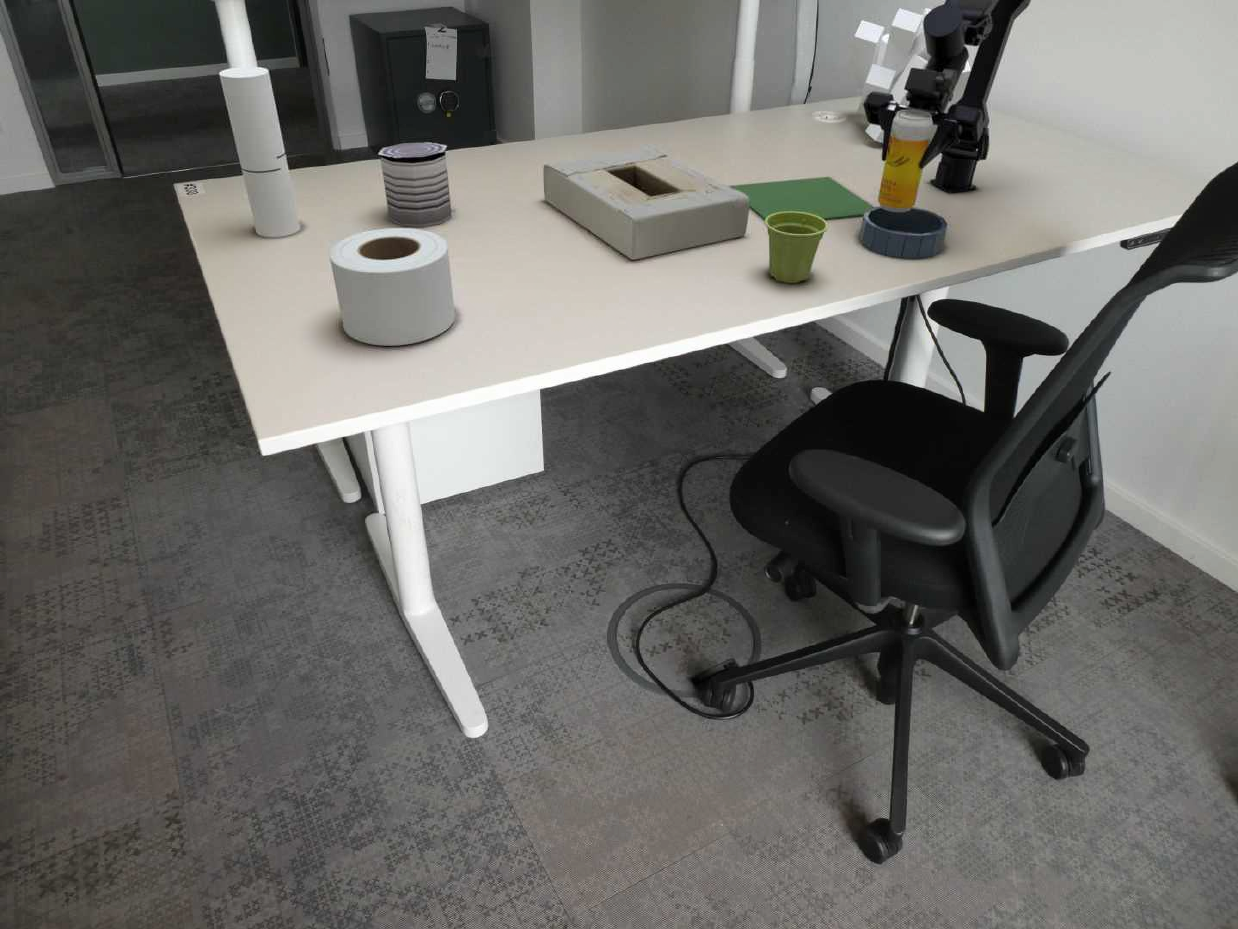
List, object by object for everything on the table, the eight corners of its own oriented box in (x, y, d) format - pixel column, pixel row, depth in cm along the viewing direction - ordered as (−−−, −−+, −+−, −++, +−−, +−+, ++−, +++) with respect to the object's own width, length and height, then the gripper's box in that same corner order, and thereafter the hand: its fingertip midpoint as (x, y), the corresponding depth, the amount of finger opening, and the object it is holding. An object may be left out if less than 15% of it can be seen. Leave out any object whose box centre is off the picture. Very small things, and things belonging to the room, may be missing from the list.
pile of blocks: (798, 138, 216) (803, 9, 185) (889, 76, 220) (910, -60, 190) (901, 217, 200) (925, 91, 169) (997, 149, 205) (1037, 14, 174)
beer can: (872, 199, 150) (890, 108, 141) (908, 200, 150) (927, 108, 141) (882, 213, 145) (900, 119, 136) (918, 213, 145) (939, 119, 136)
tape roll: (344, 300, 128) (330, 229, 122) (450, 292, 131) (443, 222, 125) (341, 352, 116) (327, 276, 110) (459, 341, 119) (451, 266, 113)
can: (386, 228, 150) (375, 157, 143) (389, 205, 159) (380, 137, 152) (453, 226, 152) (446, 155, 145) (453, 202, 161) (446, 135, 154)
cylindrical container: (308, 224, 151) (278, 69, 136) (283, 239, 146) (248, 79, 131) (273, 219, 153) (239, 64, 138) (247, 233, 148) (208, 74, 133)
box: (748, 236, 151) (647, 180, 173) (753, 192, 146) (648, 140, 168) (634, 265, 141) (542, 202, 163) (635, 219, 136) (540, 160, 158)
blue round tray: (909, 223, 157) (914, 201, 155) (958, 252, 147) (964, 229, 144) (844, 232, 153) (848, 210, 151) (889, 263, 143) (894, 239, 140)
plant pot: (818, 291, 134) (827, 236, 128) (756, 285, 135) (763, 230, 130) (819, 266, 141) (828, 214, 136) (761, 260, 142) (767, 208, 137)
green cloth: (827, 178, 176) (828, 176, 176) (880, 214, 160) (881, 211, 160) (726, 188, 170) (726, 185, 170) (771, 225, 155) (771, 223, 155)
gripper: (878, 37, 140) (838, 124, 139) (997, 54, 131) (955, 147, 131) (887, 80, 150) (850, 161, 149) (998, 98, 141) (959, 185, 141)
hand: (901, 163), depth 142 cm, fingers closed on beer can, 6 cm apart
